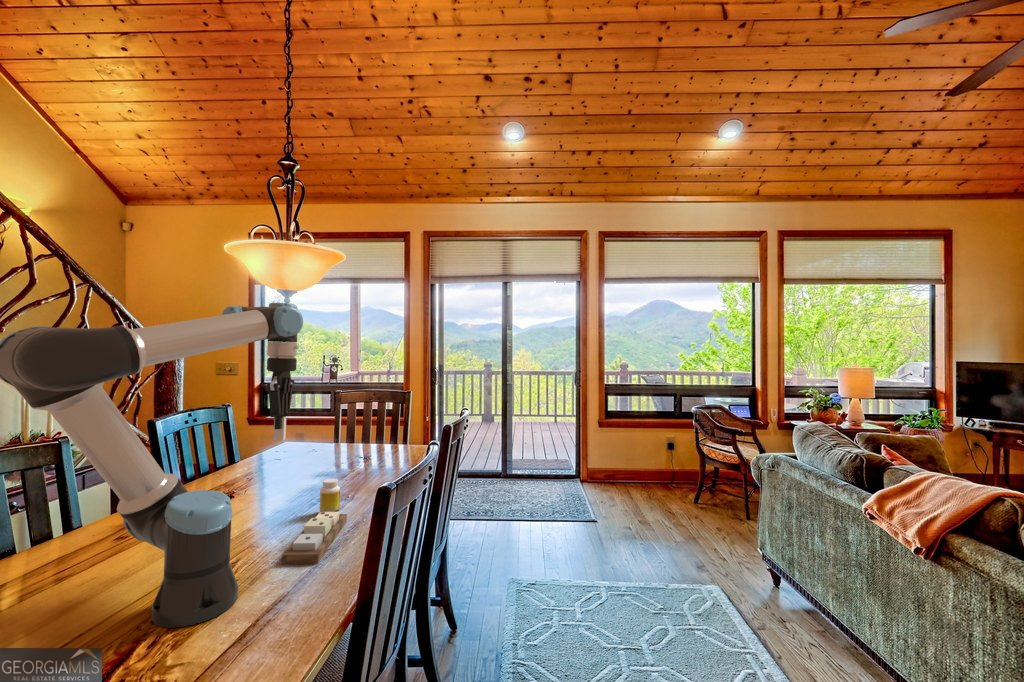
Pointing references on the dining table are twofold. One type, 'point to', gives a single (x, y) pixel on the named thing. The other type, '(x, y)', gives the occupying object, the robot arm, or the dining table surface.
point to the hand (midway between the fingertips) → (279, 439)
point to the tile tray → (314, 555)
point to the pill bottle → (330, 496)
